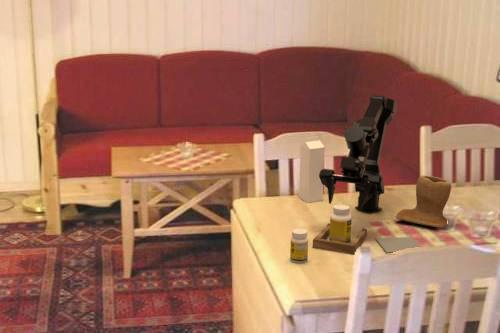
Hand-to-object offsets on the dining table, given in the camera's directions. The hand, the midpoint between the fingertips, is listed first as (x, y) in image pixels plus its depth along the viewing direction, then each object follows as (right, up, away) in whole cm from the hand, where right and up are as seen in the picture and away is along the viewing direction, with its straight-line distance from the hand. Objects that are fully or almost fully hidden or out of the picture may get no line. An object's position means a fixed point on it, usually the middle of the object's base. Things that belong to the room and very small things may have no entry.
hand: (344, 205), depth 217 cm
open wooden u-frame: (-2, -11, 0) cm, 11 cm away
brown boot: (+27, -7, +17) cm, 33 cm away
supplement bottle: (-14, -15, -13) cm, 24 cm away
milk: (-7, 0, +39) cm, 40 cm away
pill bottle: (-2, -11, 0) cm, 11 cm away
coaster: (+15, -12, -3) cm, 19 cm away
